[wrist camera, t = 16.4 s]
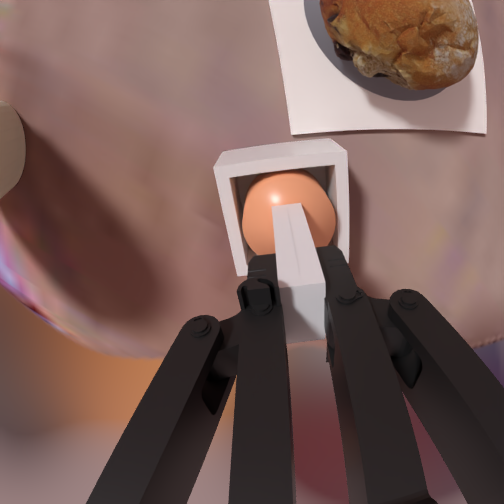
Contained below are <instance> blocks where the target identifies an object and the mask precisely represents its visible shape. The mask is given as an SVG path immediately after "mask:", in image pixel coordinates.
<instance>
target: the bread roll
mask: <svg viewBox="0 0 504 504" xmlns="http://www.w3.org/2000/svg"><path fill="white" fill-rule="evenodd" d="M319 4H320V9H321V15H322V17H323V20H324V24H325V29H326V31H327V33H328V35H329V36H330V38H331V39H332V42H333V43H334V51H335V54H336V56H337V57H339V58H340V59H342V60H346V61H353V64H354V66H355V67H357V68H358V71H359V72H360V73H361V74H362V75H363V76H367V77H369V78H371V77H376V78H378V77H385V78H386V79H389V80H390V81H391V82H392V83H394V84H396V85H400V86H401V87H404V88H407V89H409V90H413V89H414V90H426V89H440V88H444V87H449V86H451V85H453V84H456V83H458V82H460V81H461V80H462V79H464V78H465V77H466V76H467V75H468V74H469V73H470V71H471V70H472V69H473V67H474V64H475V61H476V58H477V52H478V42H479V34H478V26H477V21H476V17H475V14H474V11H473V9H472V6H471V4H470V2H469V0H320V2H319Z"/></svg>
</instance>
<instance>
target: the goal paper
mask: <svg viewBox="0 0 504 504" xmlns="http://www.w3.org/2000/svg"><path fill="white" fill-rule="evenodd" d="M268 1H269V5H270V10H271V15H272V20H273V25H274V30H275V36H276V41H277V47H278V52H279V58H280V64H281V70H282V76H283V82H284V88H285V95H286V101H287V108H288V115H289V122H290V130H291V135H296V134H306V133H317V132H330V131H346V130H369V129H426V130H448V131H462V132H474V133H484V134H486V125H487V114H486V87H485V74H484V64H483V56H482V49H481V43H480V37H479V42H478V52H477V58H476V61H475V64H474V67H473V69H472V70H471V71H470V73H469V74H468V75H467V76H466V77H465V78H464V79H462V80H461V81H460V82H458V83H456V84H453V85H451V86H449V87H444V88H440V89H426V90H414V89H413V90H409V89H407V88H404V87H401V86H400V85H396V84H394V83H392V82H391V81H390V80H389V79H386V78H385V77H378V78H376V77H371V78H369V77H367V76H363V75H362V74H361V73H360V72H359V71H358V68H357V67H355V66H354V64H353V61H346V60H342V59H340V58H339V57H337V56H336V54H335V51H334V43H333V42H332V39H331V38H330V36H329V35H328V33H327V31H326V29H325V24H324V20H323V17H322V15H321V9H320V4H319V2H320V0H268ZM469 2H470V4H471V6H472V9H473V11H474V8H473V4H472V0H469ZM474 14H475V12H474ZM478 34H479V31H478Z"/></svg>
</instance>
